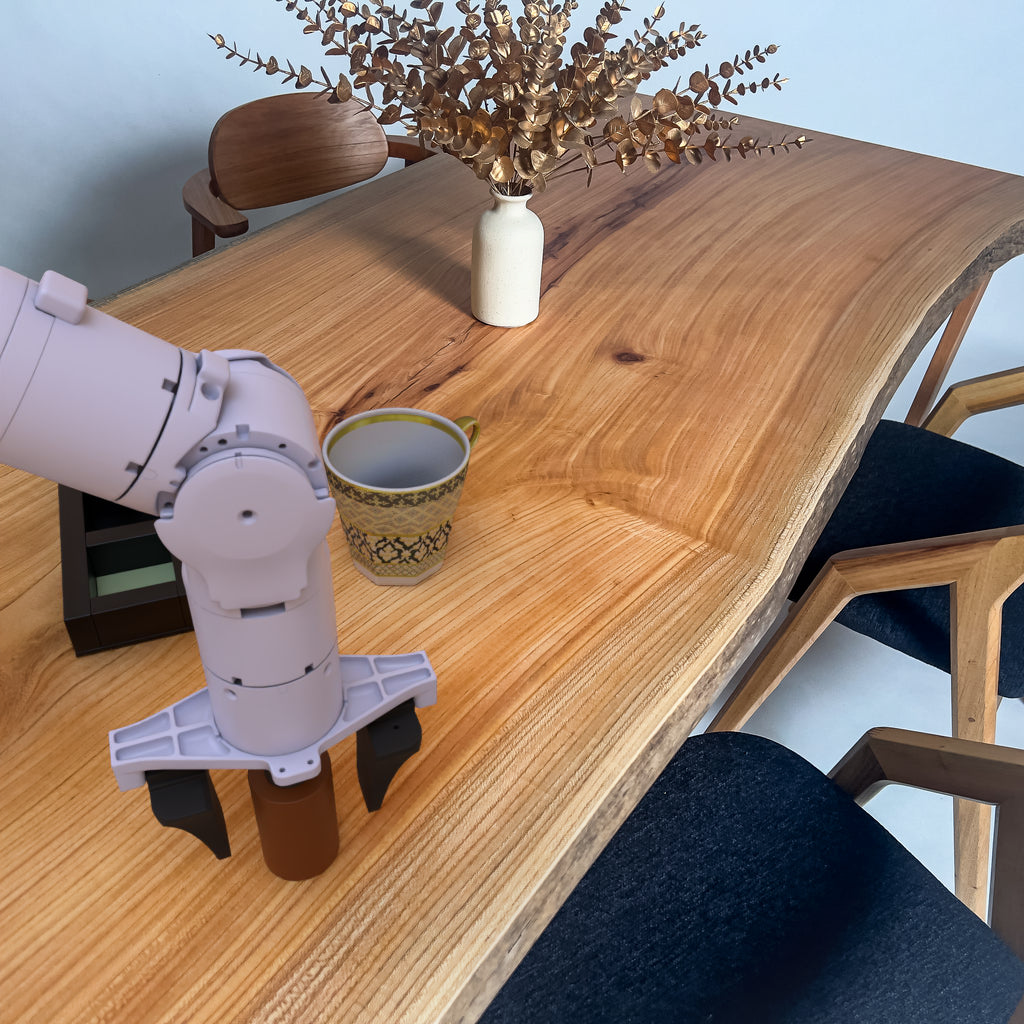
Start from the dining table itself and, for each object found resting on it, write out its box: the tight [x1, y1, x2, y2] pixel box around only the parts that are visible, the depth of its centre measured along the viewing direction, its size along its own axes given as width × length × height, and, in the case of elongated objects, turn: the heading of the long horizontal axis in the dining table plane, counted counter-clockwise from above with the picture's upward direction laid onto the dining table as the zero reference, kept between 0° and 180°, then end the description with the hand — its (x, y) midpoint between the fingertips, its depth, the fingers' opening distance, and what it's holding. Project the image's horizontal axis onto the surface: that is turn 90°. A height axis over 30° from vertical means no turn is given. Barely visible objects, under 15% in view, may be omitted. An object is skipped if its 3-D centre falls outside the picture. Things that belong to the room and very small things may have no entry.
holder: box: [57, 483, 195, 658], centre depth 66 cm, size 8×22×3 cm, turn 22°
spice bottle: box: [246, 750, 340, 882], centre depth 46 cm, size 4×4×9 cm
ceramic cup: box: [321, 406, 481, 587], centre depth 65 cm, size 13×10×10 cm
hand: (297, 818), depth 47 cm, fingers open, 7 cm apart
